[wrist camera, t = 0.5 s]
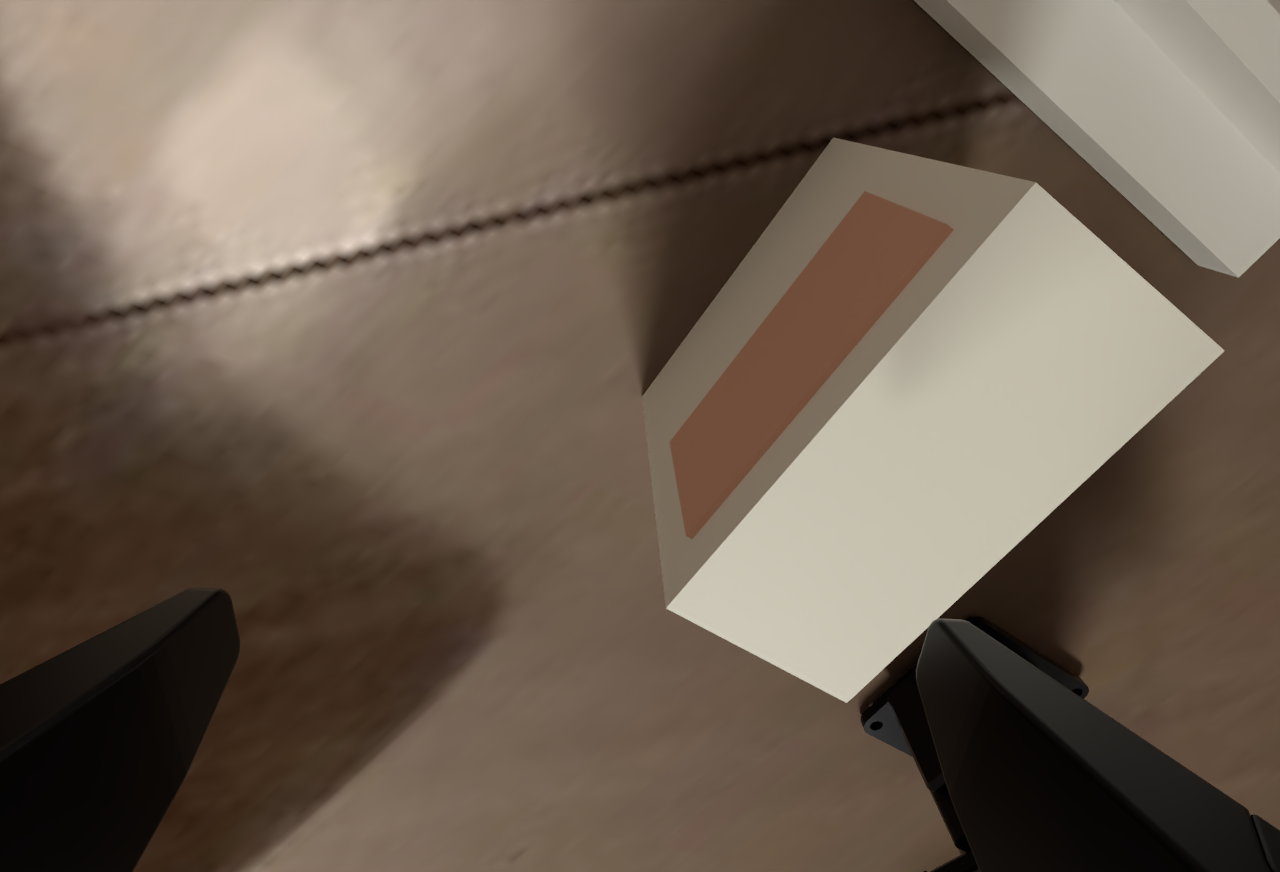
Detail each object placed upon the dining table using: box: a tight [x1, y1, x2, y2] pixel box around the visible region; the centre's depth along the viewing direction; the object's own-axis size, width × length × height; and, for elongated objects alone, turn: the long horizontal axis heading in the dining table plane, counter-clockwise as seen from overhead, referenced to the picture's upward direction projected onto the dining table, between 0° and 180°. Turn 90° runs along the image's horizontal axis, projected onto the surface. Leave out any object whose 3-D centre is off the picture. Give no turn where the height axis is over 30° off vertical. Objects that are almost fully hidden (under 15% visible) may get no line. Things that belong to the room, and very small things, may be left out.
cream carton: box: [642, 138, 1224, 703], centre depth 17 cm, size 5×9×10 cm, turn 145°
